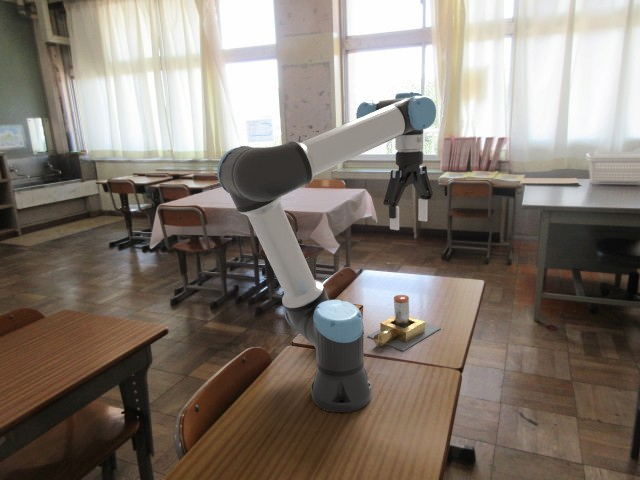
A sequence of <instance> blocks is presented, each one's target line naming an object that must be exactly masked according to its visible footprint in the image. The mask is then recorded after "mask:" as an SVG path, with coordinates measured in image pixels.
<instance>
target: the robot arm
mask: <svg viewBox="0 0 640 480" xmlns="http://www.w3.org/2000/svg"><path fill="white" fill-rule="evenodd" d="M355 115H356V119H353V120H352V121H348V122H347V123H345V124H342V125H339V126H336V127H335V128H333V129H332V128H331V129H330V130H327V131H325V132H323V133H320V134H318V135H316V136H314V137H311V138H309V139H306V140H304V141H301V142H299V141H297V140H291V141H289V142H286V143H283V144H280V145H279V144H278V145H274V146H269V147H268V146H265V147H253V146H249V145H243V146H241V145H240V146H238V147H234V148H231V149H229V150H228V151H226V152H225V153H224V154H223V155H222V157H221V158H220V159H219V162H218V165H217V167H216V168H217V169H216V171H217V172H216V175H217V180H218V182H219V184H220V186H221V187H222V189H223V191H225V192H227V194H229V195H230V198H231V200H232V202H233V203H234V206H235V208H236V210H237V212H238V213H239V214H241V215H244V216H247V218H248V220H249V222H250V224H251V226H252V228H253V230H254V233H255V235H256V237H257V239H258V241H259V243H260V245H261V247H262V249H263V252H264V253H265V256H266V258H267V260H268V262H269V264H270V266H271V269H272V270H273V273H274V275H275V277H276V279H277V281H278V283H279V285H280V288H281V289H282V292H283V296H282V299H281V302H282V306H283V312H284V313H283V314H284V317H285V320H286V321H287V323H288V325H289V326H290V327H291V328H292V329H293V330H294V331H295V332H297V333H298V334H300V336H302V337H303V338H304V339H305V340H306V341H308V342H309V343H310V344H311V345H312V346H314V348H315V356H316V357H315V358H316V370H315V373H314V377H313V381H312V383H311V389H310V390H311V399H312V400H311V401H312V402H313V403H314V404H315V406H317V407H318V408H319V407H320V408H319V409H321V408H322V409H321V410H323V409H325V410H324V411H326V410H328V411H327V412H329V411H332V412H331V413H335V412H343V413H342V414H344V413H346V412H347V413H351V412H356V411H359V410H361V409H363V408H364V407H366V406H367V405H368V404H369V403H370V401H371V400H372V395H373V393H372V383H371V381H370V379H369V377H368V374H367V371H366V368H365V363H364V357H365V355H364V334H363V330H364V328H365V327H364V321H363V319H362V314H361V312H360V310H359V309H358V308H357V307H356V306H355V305H354V304H355V303H352V302H350V301H346V300H344V301H342V300H341V299H329V295H328V294H327V292H326V289H325V287H324V285H323V283H322V282H321V281H319V280H316V279H315V278H314V275H313V274H312V271H311V269H310V266H309V264H308V263H307V260H306V258H305V255H304V253H303V250H302V249H301V247H300V244H299V242H298V239H297V238H296V235H295V232H294V231H293V227H292V225H291V223H290V221H289V218H288V217H287V214H286V212H285V209H284V208H283V207H284V206H283V205H282V203H281V200H282V197H283V196H285V195H288V194H290V193H292V192H294V191H296V190H298V189H300V188H302V187H305V186H306V185H308V184H311V183H312V182H313V180H314V176H317V175H319V174H321V173H323V172H325V171H327V170H330V169H332V168H334V167H337V166H338V165H340V164H343V163H345V162H346V161H349V160H351V159H353V158H355V157H358V156H359V155H362V154H363V153H366V152H368V151H370V150H373V149H374V148H377V147H379V146H381V145H383V144H386V143H387V142H388V143H389V142H391V141H392V140H394V139H395V140H394V141H395V143H394V145H395V146H394V147H395V150H396V152H395V165H396V166H398V170H395V169H392V170H390V176H389V177H390V178H389V182H388V185H387V188H386V192H385V195H384V199H383V204H382V205H384V206H386V207H388V217H389V218H388V219H389V229H390V230H394V231H400V206H398V204H399V202H400V200H401V198H402V196H403V194H404V191H405V190H406V188H407V187H408V186H409V185H411V184H412V185H413V188H414V189H415V191H416V193H417V194H418V196H419V198H418V199H417V200H418V202H417V203H418V218H417V219H418V221H419V222H428V209H429V200H431V199H432V197H433V196H434V192H433V189H432V185H431V182H430V179H429V176H428V168H427V166H426V165H422V164H423V163H424V152H423V151H422V149H423V148H424V130H426V129H428V128H430V127H431V126H433V124H434V123H435V121H436V117H437V108H436V105H435V102H434V101H433V99H432V98H430V97H428V96H427V95H426V96H425V95H423V93H421V92H419V91H413V92H412V91H411V92H399V93H396V95H395V97H394V98H393V99H386V100H384V99H383V100H370V101H363V102H361V103H360V104H359V105H358V107H357V109H356V114H355Z"/></svg>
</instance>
